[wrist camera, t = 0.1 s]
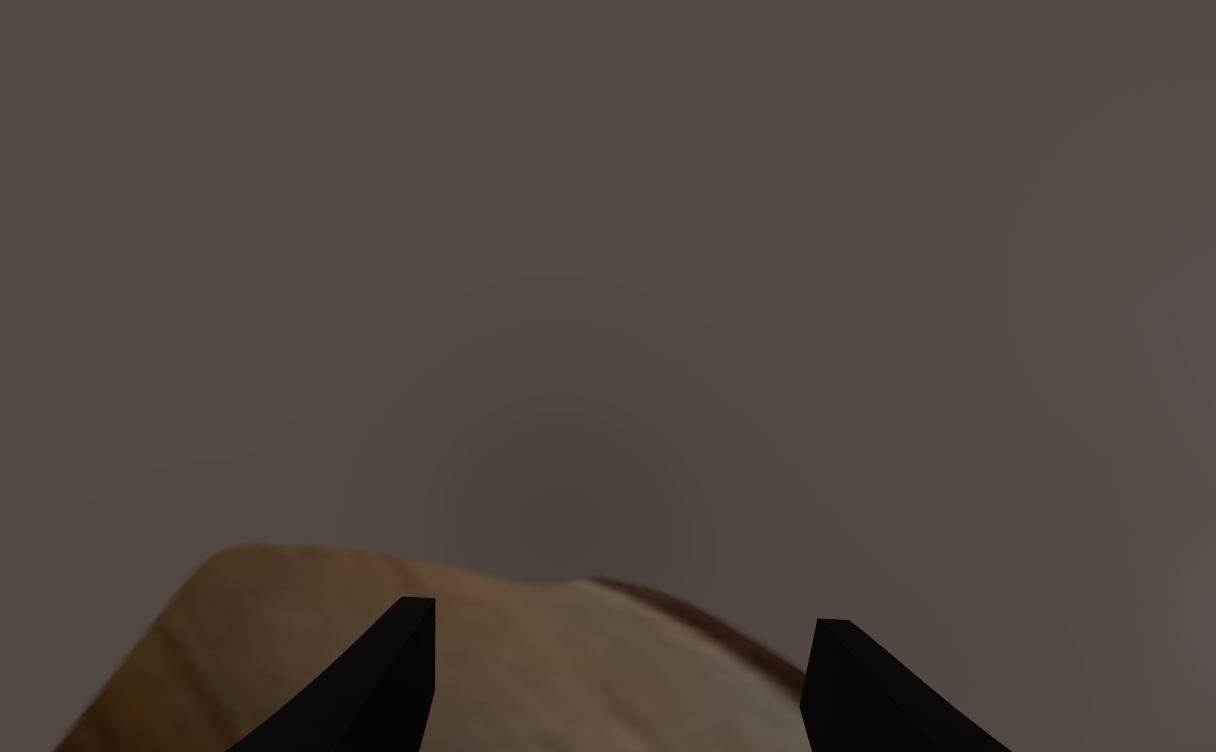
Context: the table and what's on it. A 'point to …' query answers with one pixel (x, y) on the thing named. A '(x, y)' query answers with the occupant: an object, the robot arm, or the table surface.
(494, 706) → the table surface
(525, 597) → the table surface
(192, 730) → the table surface
